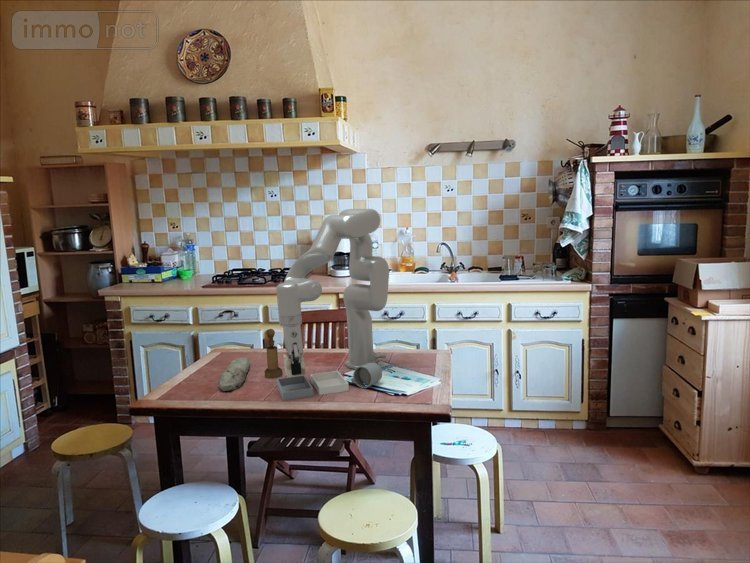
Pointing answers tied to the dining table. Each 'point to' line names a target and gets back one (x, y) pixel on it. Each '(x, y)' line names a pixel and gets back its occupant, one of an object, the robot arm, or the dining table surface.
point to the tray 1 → (294, 387)
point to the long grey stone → (234, 374)
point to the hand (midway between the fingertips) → (294, 370)
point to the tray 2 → (329, 382)
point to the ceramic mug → (367, 375)
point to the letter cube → (288, 365)
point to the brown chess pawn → (272, 358)
